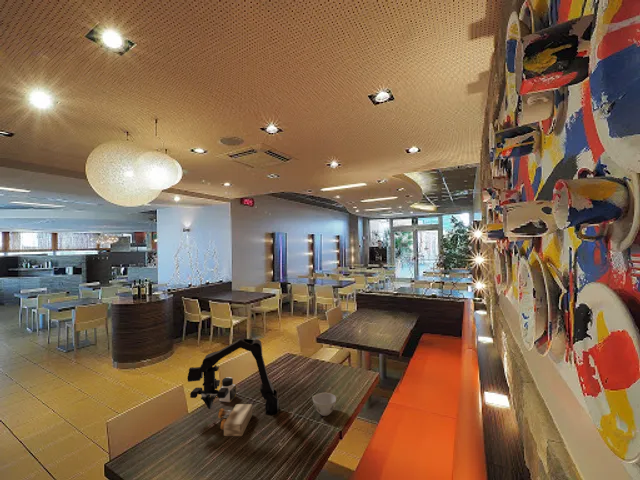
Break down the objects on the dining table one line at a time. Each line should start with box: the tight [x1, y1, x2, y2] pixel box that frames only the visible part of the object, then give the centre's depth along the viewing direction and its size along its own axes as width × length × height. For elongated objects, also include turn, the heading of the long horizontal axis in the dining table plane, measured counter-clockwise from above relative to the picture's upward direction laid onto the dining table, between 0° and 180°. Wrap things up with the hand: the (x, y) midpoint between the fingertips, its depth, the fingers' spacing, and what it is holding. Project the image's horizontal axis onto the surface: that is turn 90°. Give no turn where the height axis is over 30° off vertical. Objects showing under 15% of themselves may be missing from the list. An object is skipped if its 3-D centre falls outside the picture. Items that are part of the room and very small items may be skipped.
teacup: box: [311, 392, 337, 417], centre depth 153 cm, size 15×12×8 cm
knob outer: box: [220, 418, 227, 431], centre depth 139 cm, size 10×4×4 cm, turn 86°
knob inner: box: [217, 407, 233, 419], centre depth 149 cm, size 10×4×4 cm, turn 87°
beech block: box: [223, 403, 253, 437], centre depth 144 cm, size 9×17×6 cm, turn 177°
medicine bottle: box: [218, 376, 237, 403], centre depth 169 cm, size 7×7×12 cm
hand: (209, 408), depth 149 cm, fingers closed
